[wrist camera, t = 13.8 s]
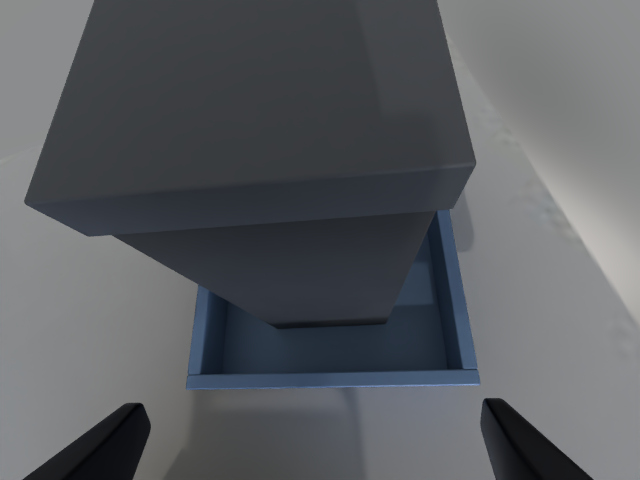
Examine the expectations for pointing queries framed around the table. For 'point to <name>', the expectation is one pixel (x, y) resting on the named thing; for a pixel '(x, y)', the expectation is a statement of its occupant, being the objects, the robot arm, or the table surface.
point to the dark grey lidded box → (262, 147)
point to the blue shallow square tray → (347, 337)
